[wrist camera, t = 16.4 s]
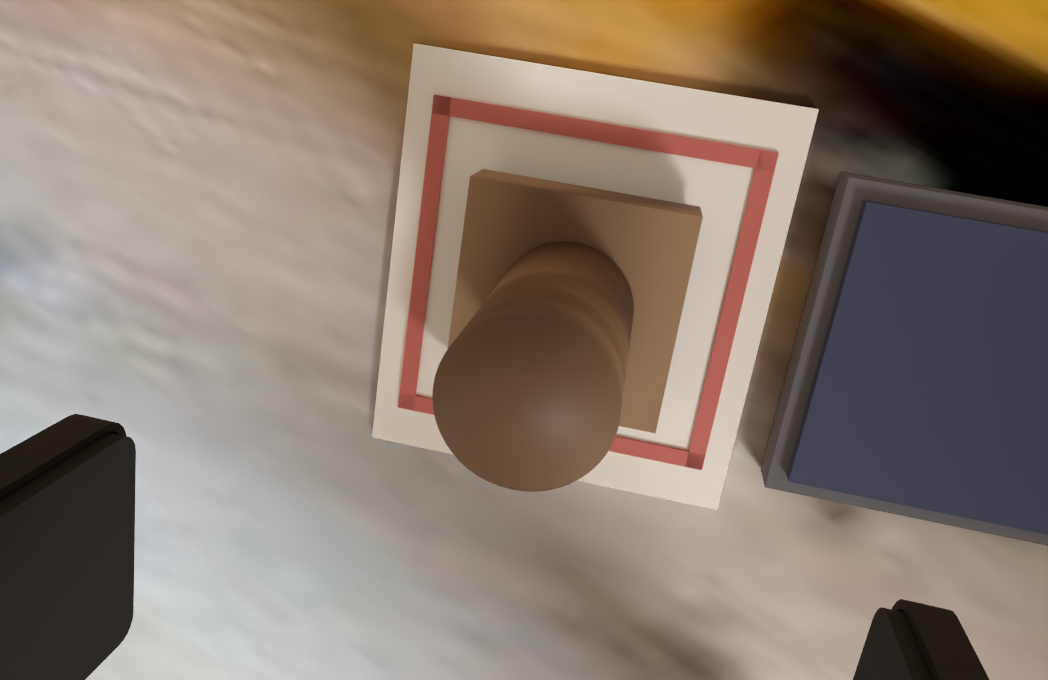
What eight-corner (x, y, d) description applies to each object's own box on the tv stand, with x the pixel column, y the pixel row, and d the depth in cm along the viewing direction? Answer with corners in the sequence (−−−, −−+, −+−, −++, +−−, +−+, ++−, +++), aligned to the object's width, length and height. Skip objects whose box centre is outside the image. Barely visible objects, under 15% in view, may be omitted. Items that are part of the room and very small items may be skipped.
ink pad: (1192, 231, 23) (1230, 243, 21) (1070, 532, 25) (1096, 561, 24) (840, 171, 23) (852, 179, 22) (760, 469, 26) (766, 493, 25)
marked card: (816, 108, 23) (819, 109, 23) (716, 505, 27) (717, 511, 26) (416, 43, 24) (412, 42, 24) (374, 433, 28) (370, 438, 28)
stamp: (699, 203, 24) (719, 282, 15) (656, 402, 26) (651, 574, 17) (487, 166, 25) (388, 221, 16) (460, 363, 26) (358, 511, 18)
